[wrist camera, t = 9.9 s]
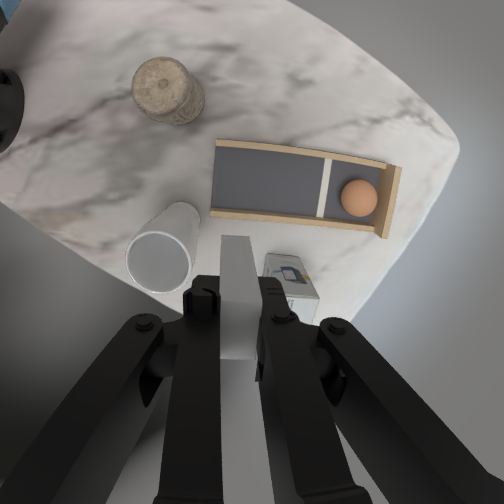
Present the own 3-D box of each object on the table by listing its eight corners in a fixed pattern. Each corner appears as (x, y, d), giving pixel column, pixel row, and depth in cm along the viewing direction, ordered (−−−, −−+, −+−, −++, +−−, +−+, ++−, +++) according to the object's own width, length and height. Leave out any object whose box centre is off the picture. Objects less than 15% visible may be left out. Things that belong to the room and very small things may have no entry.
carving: (185, 64, 34) (166, 39, 23) (216, 106, 36) (209, 96, 25) (146, 92, 35) (113, 78, 24) (176, 134, 37) (153, 135, 26)
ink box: (266, 252, 44) (277, 293, 34) (300, 256, 45) (321, 297, 34) (257, 303, 48) (263, 352, 37) (289, 306, 48) (303, 354, 37)
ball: (343, 209, 43) (334, 215, 39) (347, 175, 41) (339, 177, 37) (376, 216, 41) (371, 223, 37) (381, 181, 39) (377, 185, 35)
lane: (211, 212, 42) (208, 222, 37) (216, 139, 38) (214, 139, 33) (372, 227, 44) (387, 239, 39) (385, 162, 40) (401, 167, 36)
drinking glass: (183, 185, 40) (156, 214, 26) (215, 221, 42) (207, 268, 28) (148, 217, 41) (110, 259, 28) (180, 251, 44) (158, 307, 30)
